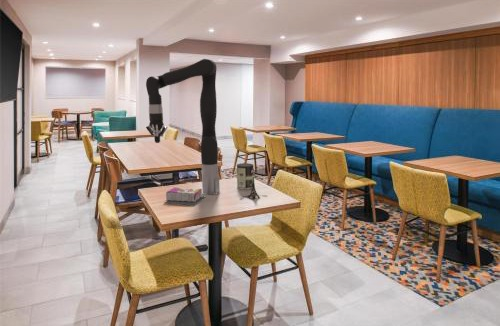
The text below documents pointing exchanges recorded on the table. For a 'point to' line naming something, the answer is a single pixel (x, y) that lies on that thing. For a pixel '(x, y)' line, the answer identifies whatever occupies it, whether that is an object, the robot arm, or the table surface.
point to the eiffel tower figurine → (253, 194)
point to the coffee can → (245, 176)
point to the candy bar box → (184, 194)
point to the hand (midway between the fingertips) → (157, 142)
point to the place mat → (186, 202)
